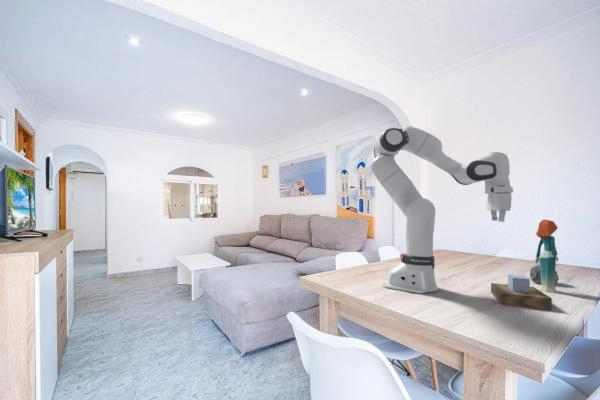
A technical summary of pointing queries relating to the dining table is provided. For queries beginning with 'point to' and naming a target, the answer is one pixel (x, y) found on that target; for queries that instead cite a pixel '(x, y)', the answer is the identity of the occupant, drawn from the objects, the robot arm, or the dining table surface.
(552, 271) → the sculpture
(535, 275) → the stone
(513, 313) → the dining table surface
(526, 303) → the walnut pedestal
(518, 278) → the slate block
